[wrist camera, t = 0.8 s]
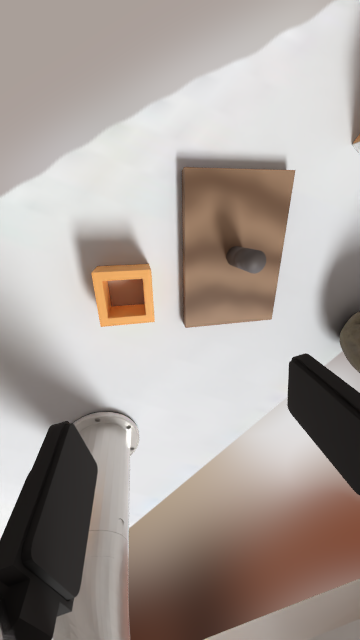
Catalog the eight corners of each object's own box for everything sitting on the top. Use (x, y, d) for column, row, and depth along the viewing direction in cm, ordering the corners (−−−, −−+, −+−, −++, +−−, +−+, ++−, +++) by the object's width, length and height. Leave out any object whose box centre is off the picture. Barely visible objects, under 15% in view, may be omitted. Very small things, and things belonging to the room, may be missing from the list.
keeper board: (266, 315, 36) (294, 334, 30) (183, 323, 34) (194, 345, 28) (287, 173, 28) (331, 157, 22) (181, 170, 26) (197, 152, 20)
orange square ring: (151, 309, 32) (154, 321, 28) (105, 313, 31) (100, 326, 27) (148, 263, 29) (151, 269, 25) (97, 266, 28) (91, 272, 24)
